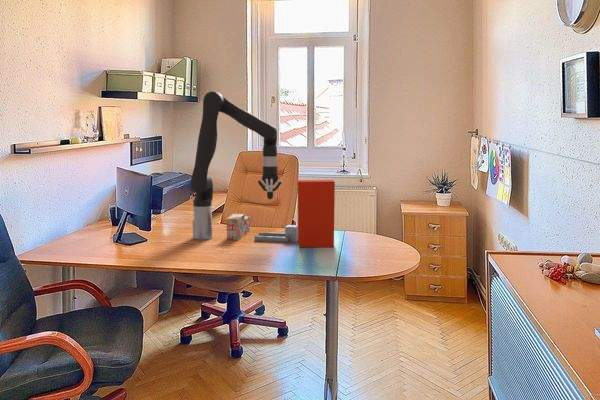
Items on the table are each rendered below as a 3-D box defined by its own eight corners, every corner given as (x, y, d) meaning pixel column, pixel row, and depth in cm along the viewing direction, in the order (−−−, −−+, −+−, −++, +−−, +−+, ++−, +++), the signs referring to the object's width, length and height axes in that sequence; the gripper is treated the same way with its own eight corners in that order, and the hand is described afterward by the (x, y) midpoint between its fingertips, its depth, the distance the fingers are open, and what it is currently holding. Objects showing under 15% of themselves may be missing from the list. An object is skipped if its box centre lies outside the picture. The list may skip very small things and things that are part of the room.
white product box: (238, 232, 267) (238, 210, 265) (249, 232, 266) (249, 210, 264) (226, 241, 246) (226, 218, 244) (238, 242, 245) (238, 218, 243)
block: (285, 241, 242) (285, 227, 241) (287, 238, 248) (287, 224, 247) (296, 241, 242) (296, 227, 240) (297, 239, 247) (297, 225, 246)
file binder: (297, 243, 243) (297, 179, 237) (331, 243, 243) (332, 179, 238) (298, 247, 235) (298, 181, 229) (333, 247, 236) (334, 181, 230)
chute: (254, 243, 243) (254, 234, 243) (259, 238, 252) (259, 230, 252) (289, 244, 240) (289, 235, 240) (293, 240, 249) (293, 231, 249)
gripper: (255, 165, 243) (255, 199, 246) (281, 166, 241) (281, 200, 244) (259, 164, 250) (259, 197, 253) (284, 164, 248) (284, 198, 251)
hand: (270, 199), depth 248 cm, fingers closed
